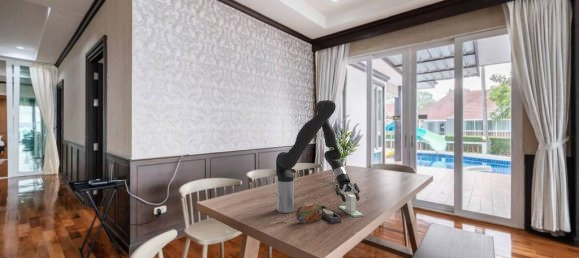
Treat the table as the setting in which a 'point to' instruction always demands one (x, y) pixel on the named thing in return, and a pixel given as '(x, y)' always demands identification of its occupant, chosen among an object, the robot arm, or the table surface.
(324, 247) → the table surface
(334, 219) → the frame
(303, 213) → the tin
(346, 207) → the white rectangular block
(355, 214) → the board
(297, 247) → the table surface
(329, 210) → the offcut stack
